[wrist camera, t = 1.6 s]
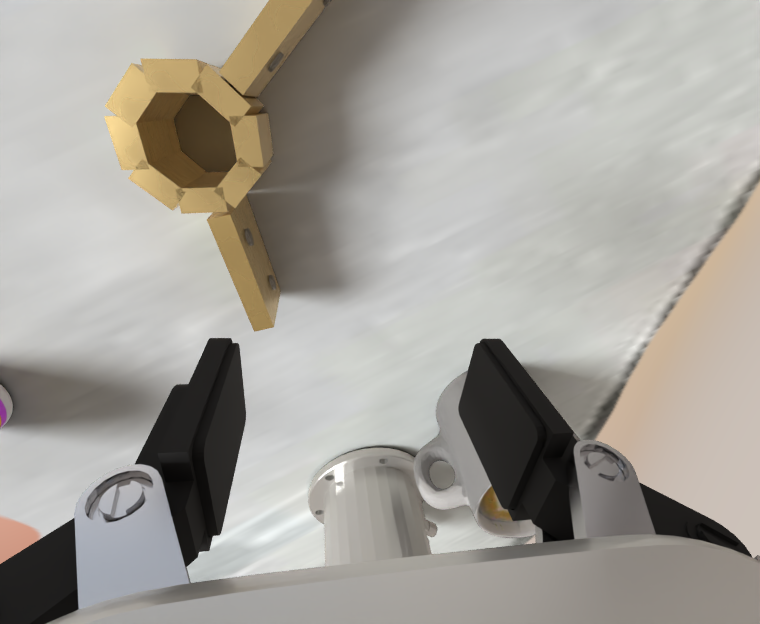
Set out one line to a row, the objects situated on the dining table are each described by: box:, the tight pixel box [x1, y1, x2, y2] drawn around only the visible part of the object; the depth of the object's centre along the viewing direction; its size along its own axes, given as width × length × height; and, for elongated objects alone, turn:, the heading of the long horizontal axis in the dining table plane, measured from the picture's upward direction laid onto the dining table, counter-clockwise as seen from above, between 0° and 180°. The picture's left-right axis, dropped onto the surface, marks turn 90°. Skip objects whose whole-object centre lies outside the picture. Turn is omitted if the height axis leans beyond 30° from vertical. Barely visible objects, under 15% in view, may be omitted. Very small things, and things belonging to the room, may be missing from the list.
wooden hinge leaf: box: [207, 195, 281, 332], centre depth 23 cm, size 7×2×5 cm, turn 10°
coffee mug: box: [414, 371, 580, 538], centre depth 31 cm, size 13×10×10 cm
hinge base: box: [104, 0, 331, 213], centre depth 18 cm, size 6×14×5 cm, turn 135°
